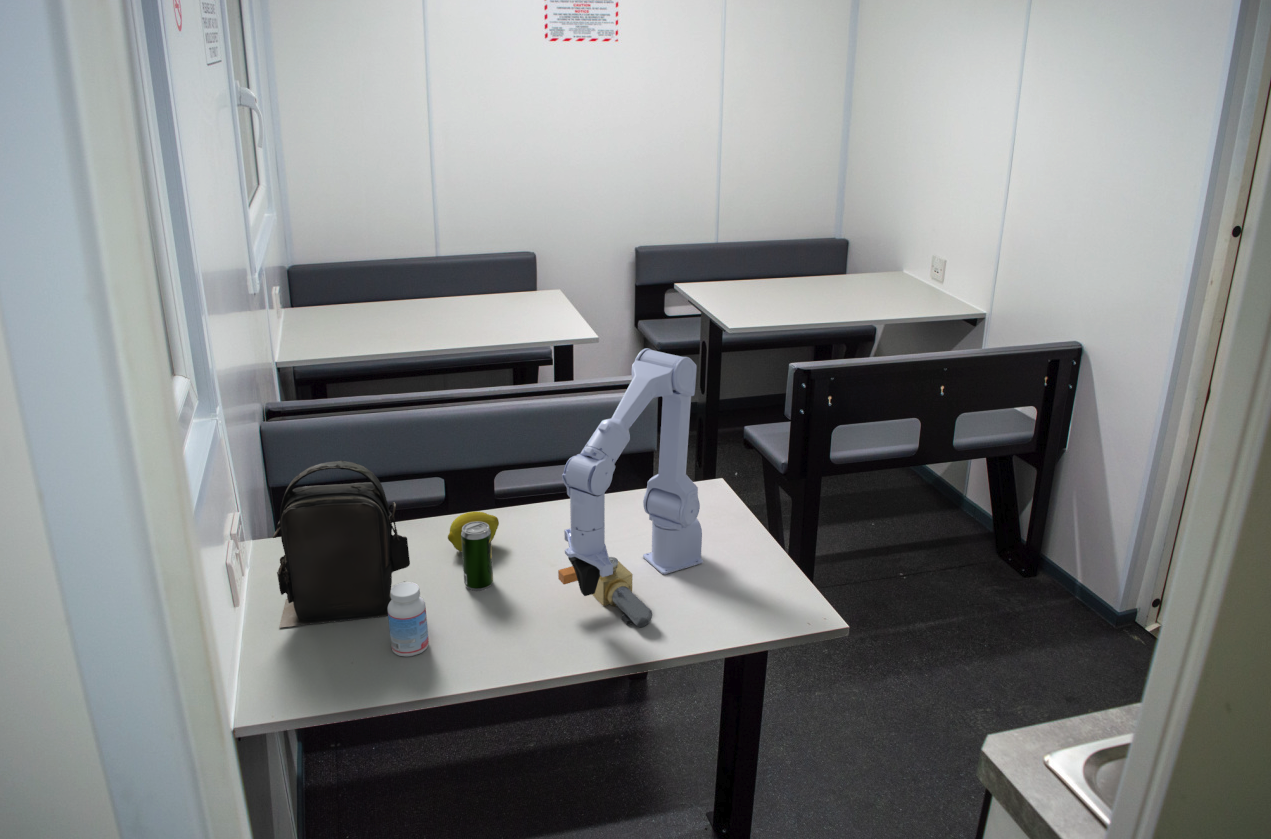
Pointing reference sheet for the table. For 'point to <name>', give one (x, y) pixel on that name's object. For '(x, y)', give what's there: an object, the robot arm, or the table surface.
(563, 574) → the valve lever
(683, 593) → the table surface
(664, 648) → the table surface
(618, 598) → the valve pipe
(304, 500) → the shoulder bag
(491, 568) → the beer can
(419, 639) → the pill bottle
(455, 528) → the lemon
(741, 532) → the table surface
